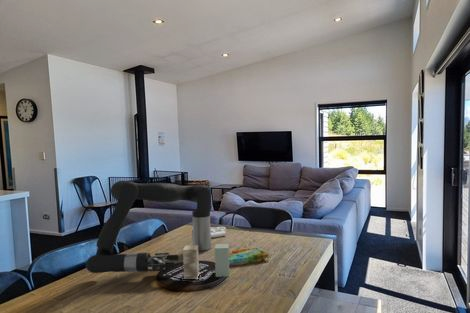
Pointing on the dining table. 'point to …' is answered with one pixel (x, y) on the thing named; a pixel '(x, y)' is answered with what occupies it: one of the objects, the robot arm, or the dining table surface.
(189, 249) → the birch block
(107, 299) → the dining table surface
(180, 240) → the dining table surface
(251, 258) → the puzzle game
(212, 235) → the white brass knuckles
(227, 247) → the sage block
